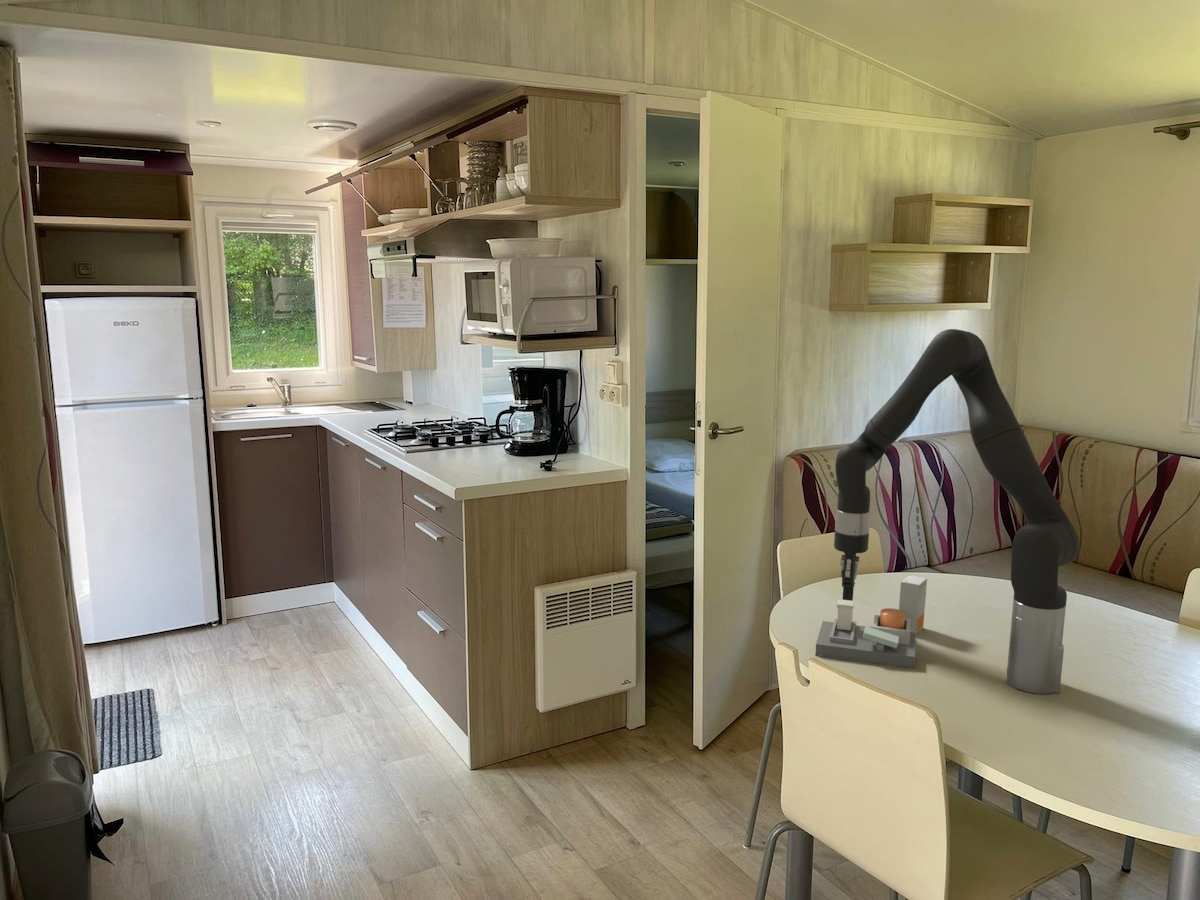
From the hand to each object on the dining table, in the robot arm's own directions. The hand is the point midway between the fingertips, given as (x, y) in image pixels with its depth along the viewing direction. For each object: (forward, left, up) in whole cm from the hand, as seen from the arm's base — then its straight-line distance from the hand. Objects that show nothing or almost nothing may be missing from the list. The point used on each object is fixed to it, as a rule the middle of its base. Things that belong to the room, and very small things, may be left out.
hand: (847, 601), depth 206 cm
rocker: (-8, +16, -1) cm, 18 cm away
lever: (0, +8, -3) cm, 9 cm away
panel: (-5, +12, -6) cm, 15 cm away
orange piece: (-10, +9, -3) cm, 14 cm away
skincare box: (-14, -3, -6) cm, 16 cm away
